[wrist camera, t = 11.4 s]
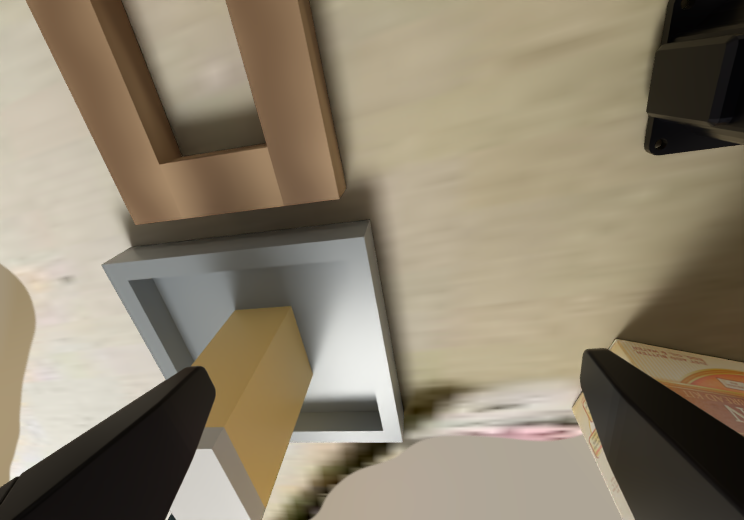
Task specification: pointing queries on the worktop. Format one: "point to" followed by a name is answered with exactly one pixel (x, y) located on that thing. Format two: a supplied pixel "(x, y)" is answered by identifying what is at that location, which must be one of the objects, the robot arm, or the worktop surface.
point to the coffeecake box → (685, 377)
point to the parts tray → (278, 289)
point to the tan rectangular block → (246, 415)
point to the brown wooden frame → (151, 127)
